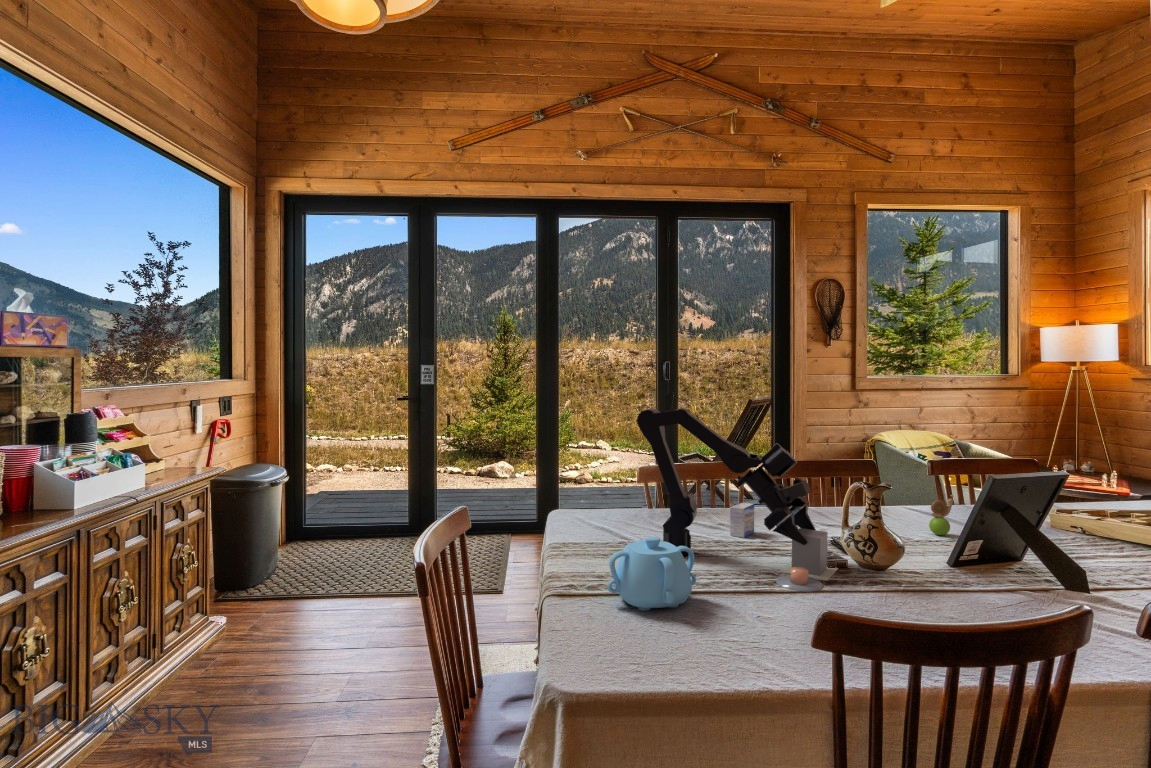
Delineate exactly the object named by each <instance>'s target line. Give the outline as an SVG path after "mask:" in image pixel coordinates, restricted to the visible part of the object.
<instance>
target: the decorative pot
mask: <svg viewBox="0 0 1151 768" xmlns="http://www.w3.org/2000/svg"><path fill="white" fill-rule="evenodd" d="M681 551H686V552H688V554H689V555H688V560H687V562H686V560H685V556H683V555H682V553H681ZM695 559H696V558H695V553H694V551H693V550H692V548H691V549H690V548H688V547H686V546H678V547H676V546H674V545H673V544H671V543H668V542H665V541H663V540H661V538H660V537H657V536H653V535H652V536H646V537H645V538H644V540H643V539H637V540H635V541H634V542H630V543H627V545H625V547H624V549H623V550H619V551H616V552H615V553H613V554H612V555H611V556H610V558H609V562H608V564H609V565H608V566H609V570H610V573H611V575H612V576H611V577H612V578H613V579H611V580H609V581H608V582H607V585H606V588H607V590H608V592H610V593H611V594H618V595H619V596H620V598H621V599H622V600H623V601H624V602H626V604H629V605H630V606H633V607H636V608H637V610H639V611H641V612H642V611H644V612H646V611H648V612H649V611H650V610H651V609H658V608H661V609H662V608H673V609H675V608H679V605H681V604H683V603H685V602H686V601H687V599H689V597H690V595H691V593H692V586H693V585H695V584H696V582H697V578H696V575H695V574H694V573H693V572H692V570H693V568H694V564H695ZM617 560H618V561H617ZM616 561H617V564H616ZM615 564H616V565H615ZM613 584H614V587H612V585H613Z"/></svg>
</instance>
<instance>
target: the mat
mask: <svg viewBox="0 0 1151 768" xmlns="http://www.w3.org/2000/svg"><path fill="white" fill-rule="evenodd" d="M791 568H792V560H791V561H790V562H789V563H787V565H785V566H784V567H783V568H782V569H780V570H779V572H780V573H785V574H790V575H791ZM837 570H839V567H835V568H828V567H827V569H826V570H825V571H824V572H823V573H822V574H821V575H820V576H817V575H812V574H808V577H809V578H813V579H815V580H822V581H827V582H828V581H829V580H830V578H832V576H833V575H834V574H835V573H836V571H837Z"/></svg>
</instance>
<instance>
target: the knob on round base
mask: <svg viewBox="0 0 1151 768" xmlns="http://www.w3.org/2000/svg"><path fill="white" fill-rule="evenodd" d="M775 582H776V584H777V585H778V586H780V587H782V588H784V589H787V590H790V591H795V592H796V591H797V592H809V593H810V592H817V591H821V590H822V589H823V583H822V582H821V581H819V579H816V578H811V577H808V569H806V568H802V567H792V568H791V574H790V575H789V574H788V575H782V576H779V577H777V578H776V580H775Z"/></svg>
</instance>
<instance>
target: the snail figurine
mask: <svg viewBox="0 0 1151 768" xmlns="http://www.w3.org/2000/svg"><path fill="white" fill-rule="evenodd" d="M950 497H951V498H948V499H947V503H946V502H945V501H943V500H941V499H938V500H937V499H936V500H934V501H932V503H931V505H930V510H931V513H930V514H931V516H933V518H932V519H930V521H929V523H928V527H929V530H930V531H931V532H932V533H933V534H934V535H937V536H945V535H947V534H948V533H949V532H950V531H951V524H950V521H949V520H948V519H947V518H945V517H947V516H948V515H949V514H950V513H951V511H952V510H951V509H952V507H953V503H954V500H953V498H954V497H955V496H954V495H953V494H950Z"/></svg>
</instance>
